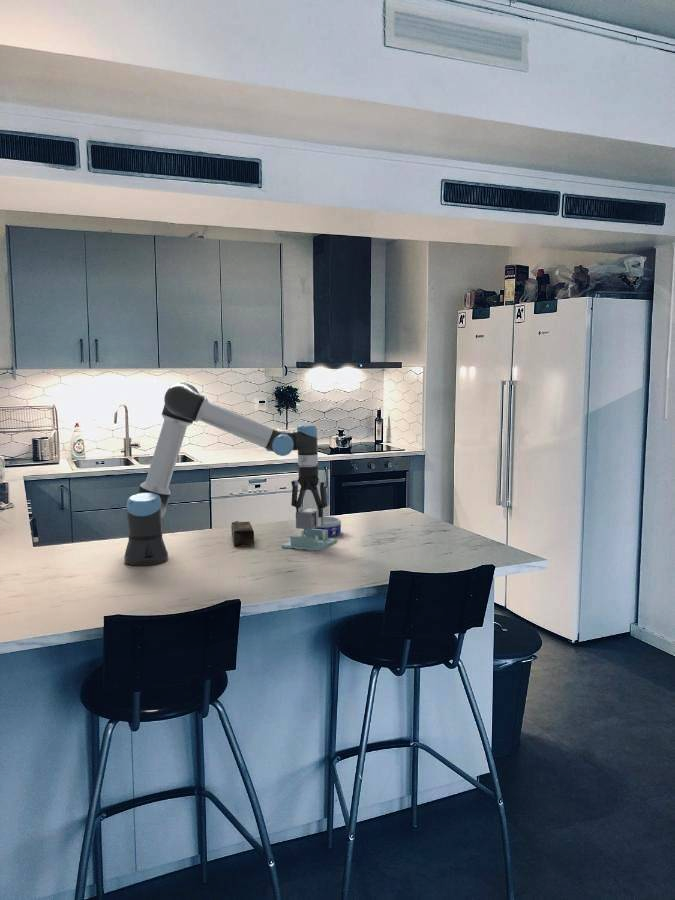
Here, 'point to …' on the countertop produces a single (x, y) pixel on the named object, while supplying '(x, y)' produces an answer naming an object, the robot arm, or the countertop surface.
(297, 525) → the block
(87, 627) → the countertop surface
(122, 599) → the countertop surface
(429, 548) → the countertop surface
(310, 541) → the pin tray
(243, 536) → the beverage carton
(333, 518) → the dog bowl
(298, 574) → the countertop surface
